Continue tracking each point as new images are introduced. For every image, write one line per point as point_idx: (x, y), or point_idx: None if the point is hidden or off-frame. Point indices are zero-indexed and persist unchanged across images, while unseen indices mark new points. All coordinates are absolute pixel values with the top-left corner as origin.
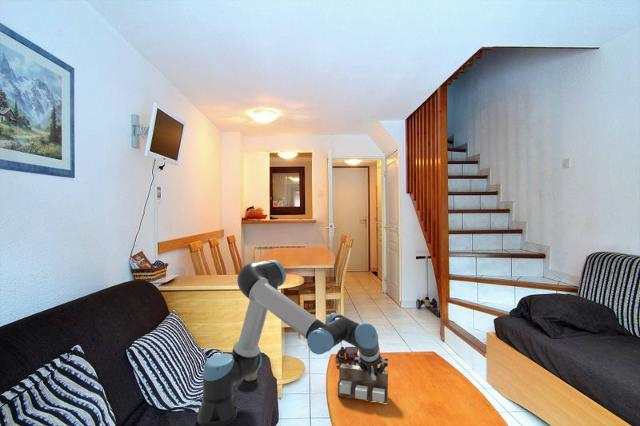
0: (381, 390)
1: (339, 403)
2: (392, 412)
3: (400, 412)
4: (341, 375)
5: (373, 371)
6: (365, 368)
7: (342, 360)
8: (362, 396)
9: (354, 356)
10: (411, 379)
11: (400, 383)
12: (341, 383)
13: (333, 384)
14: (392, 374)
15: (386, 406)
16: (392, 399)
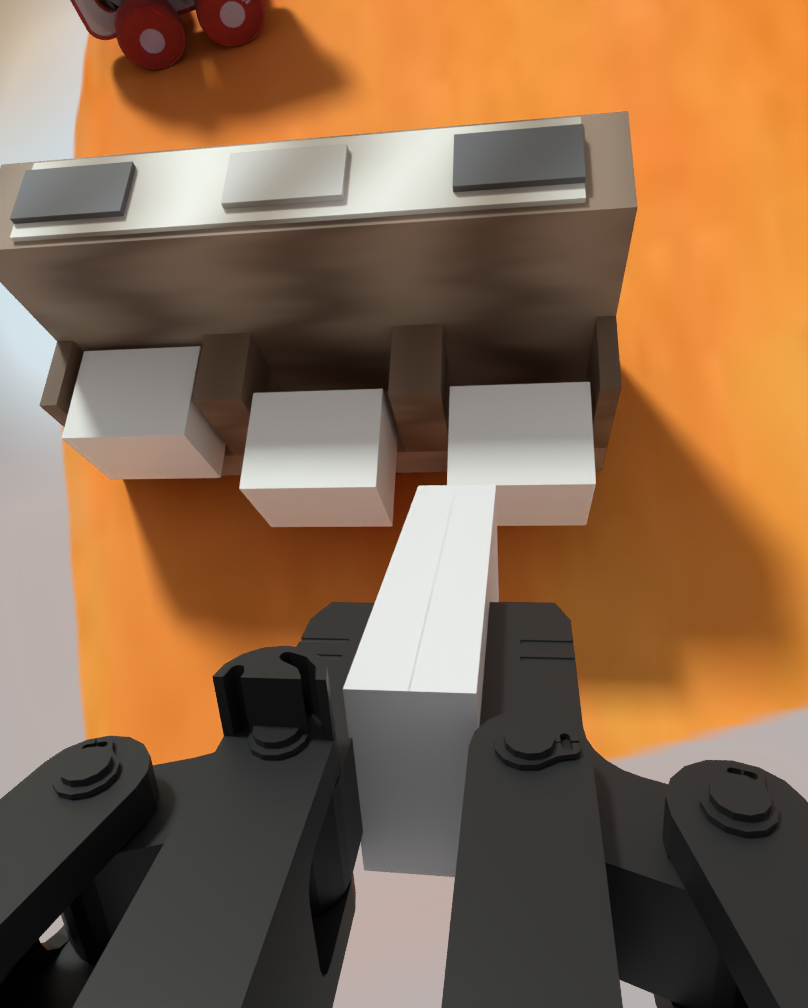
0: (553, 419)
1: (139, 586)
2: (678, 589)
3: (762, 566)
4: (58, 315)
5: (434, 810)
6: (112, 928)
7: (130, 4)
8: (342, 514)
9: None
10: (775, 30)
11: (684, 115)
12: (84, 416)
13: None
14: (593, 18)
15: (602, 503)
16: (646, 373)
